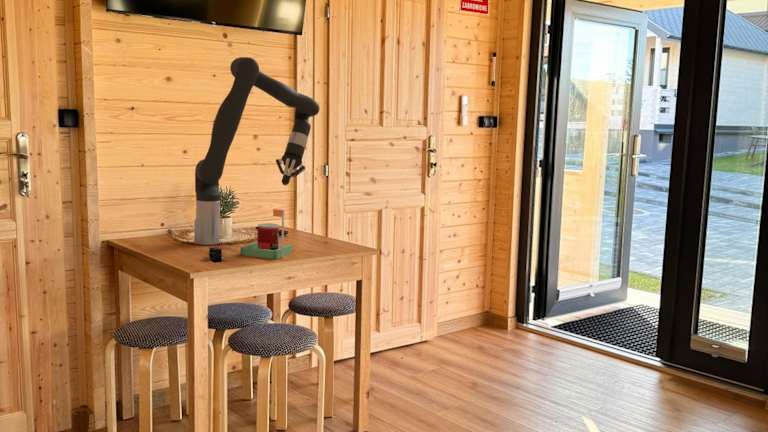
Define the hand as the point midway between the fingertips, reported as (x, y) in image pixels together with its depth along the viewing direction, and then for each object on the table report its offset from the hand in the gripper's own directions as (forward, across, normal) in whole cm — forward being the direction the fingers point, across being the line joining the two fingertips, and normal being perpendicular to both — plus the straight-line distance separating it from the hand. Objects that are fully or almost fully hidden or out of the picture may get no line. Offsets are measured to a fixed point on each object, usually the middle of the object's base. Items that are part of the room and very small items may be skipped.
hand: (284, 184), depth 289 cm
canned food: (+30, +4, -13) cm, 33 cm away
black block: (+39, -10, -26) cm, 48 cm away
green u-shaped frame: (+30, +4, -13) cm, 33 cm away
